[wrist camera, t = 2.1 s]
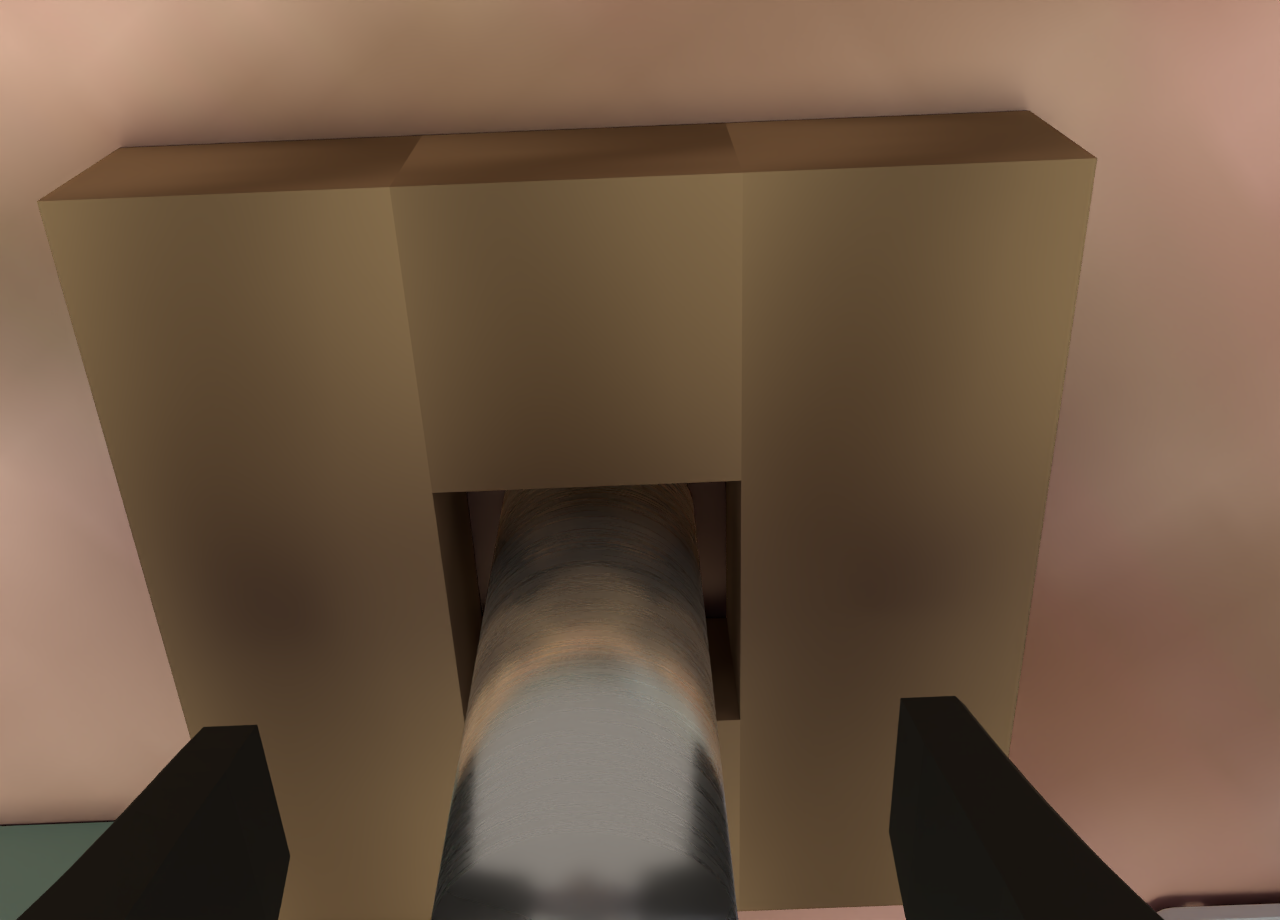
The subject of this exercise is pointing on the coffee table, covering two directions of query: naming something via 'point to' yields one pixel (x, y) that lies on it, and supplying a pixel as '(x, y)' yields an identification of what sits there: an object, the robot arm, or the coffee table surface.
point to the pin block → (583, 440)
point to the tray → (39, 860)
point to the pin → (591, 721)
